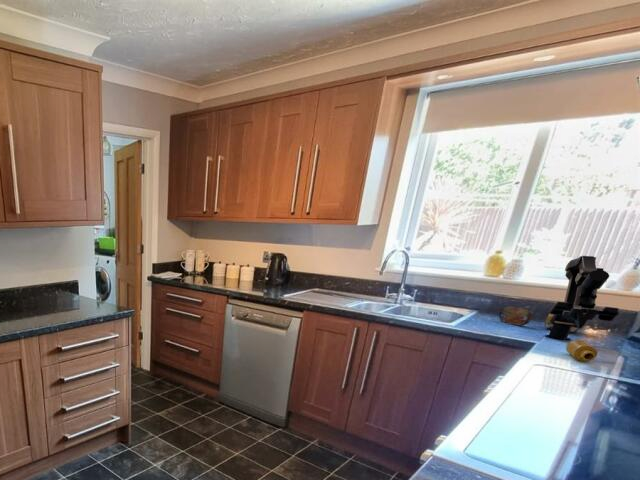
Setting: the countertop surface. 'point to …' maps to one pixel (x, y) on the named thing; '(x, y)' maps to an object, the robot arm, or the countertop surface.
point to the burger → (549, 326)
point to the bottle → (581, 350)
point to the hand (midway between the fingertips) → (580, 328)
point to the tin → (515, 315)
